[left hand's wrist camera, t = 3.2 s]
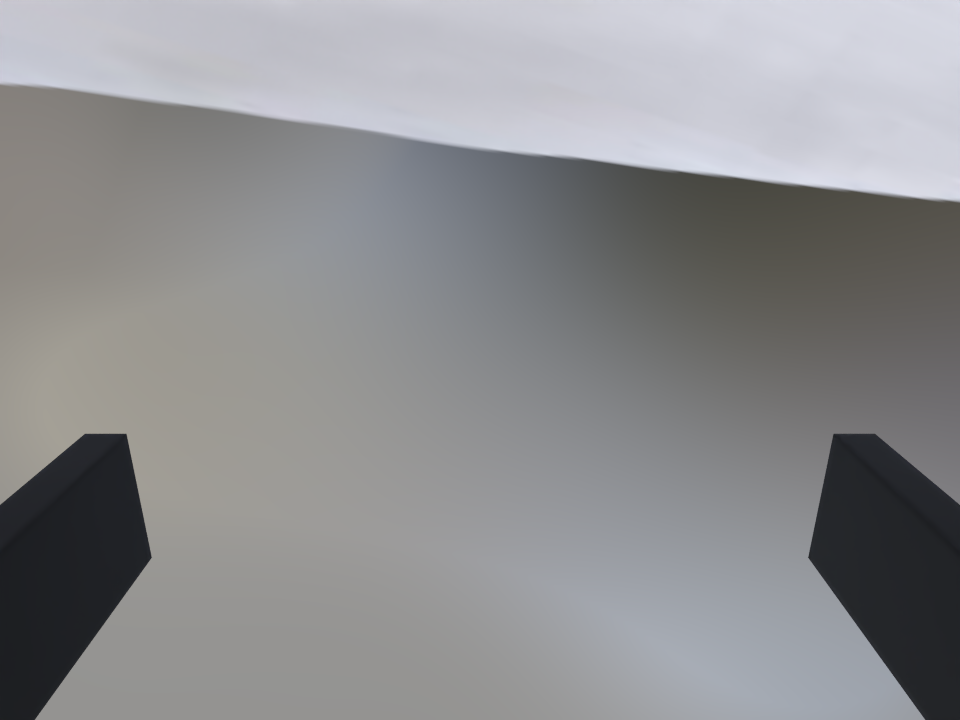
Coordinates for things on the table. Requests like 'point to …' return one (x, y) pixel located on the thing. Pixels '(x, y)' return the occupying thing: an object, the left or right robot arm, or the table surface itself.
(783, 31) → the table surface
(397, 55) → the table surface
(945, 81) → the table surface
